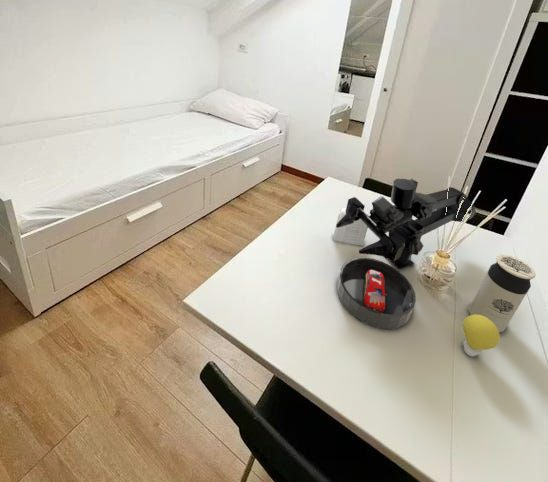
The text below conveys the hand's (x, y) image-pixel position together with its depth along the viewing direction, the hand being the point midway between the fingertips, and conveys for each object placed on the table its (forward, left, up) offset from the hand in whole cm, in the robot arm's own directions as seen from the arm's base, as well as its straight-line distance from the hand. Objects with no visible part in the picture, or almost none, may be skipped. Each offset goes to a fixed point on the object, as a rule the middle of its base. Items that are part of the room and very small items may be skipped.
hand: (347, 238), depth 75 cm
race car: (-7, +7, -16) cm, 18 cm away
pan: (-7, +7, -16) cm, 19 cm away
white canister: (-31, +23, -16) cm, 42 cm away
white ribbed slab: (-15, -14, -16) cm, 26 cm away
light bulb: (-18, +27, -16) cm, 36 cm away
